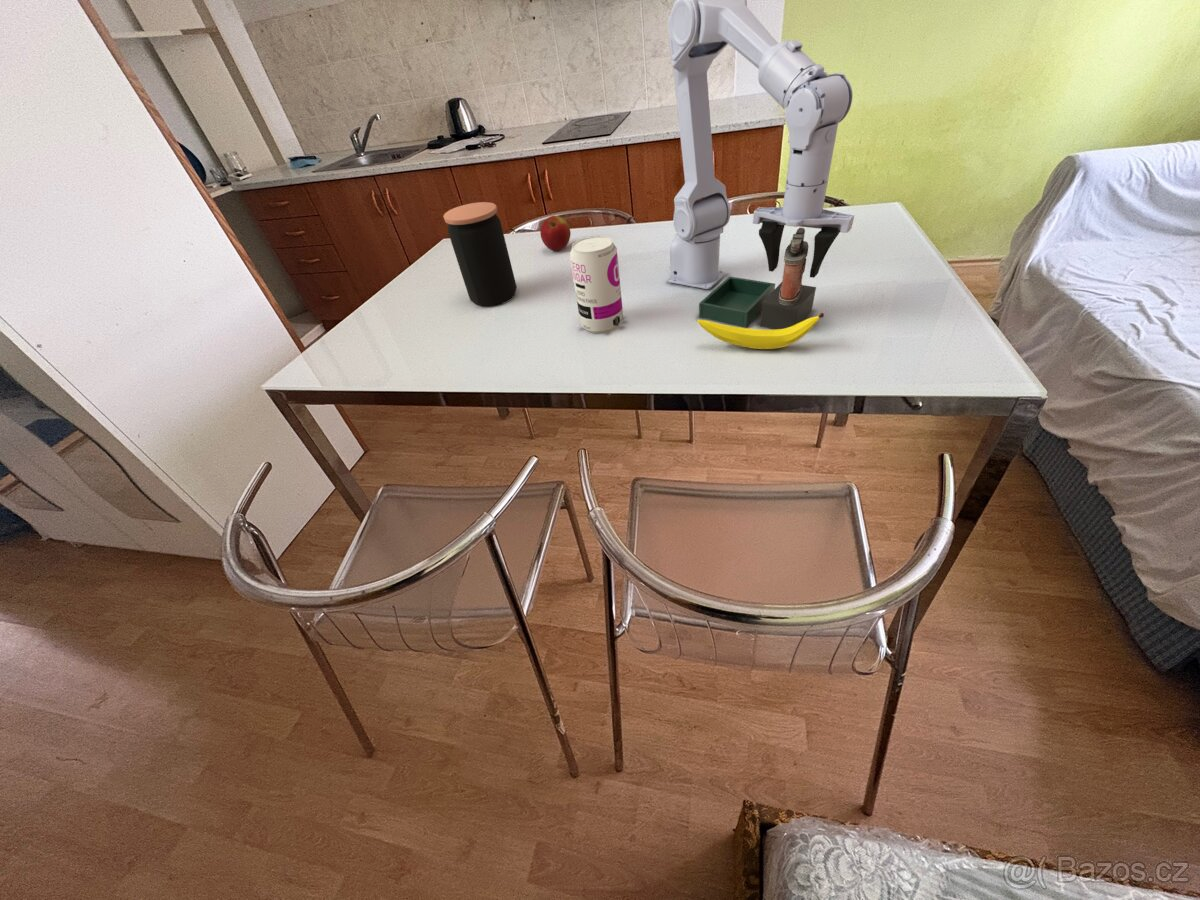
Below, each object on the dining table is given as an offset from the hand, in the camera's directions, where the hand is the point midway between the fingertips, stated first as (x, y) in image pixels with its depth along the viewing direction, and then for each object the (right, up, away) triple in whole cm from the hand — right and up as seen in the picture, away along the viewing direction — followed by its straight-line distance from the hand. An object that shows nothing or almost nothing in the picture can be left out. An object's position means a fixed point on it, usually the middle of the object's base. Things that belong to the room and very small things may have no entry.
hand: (793, 272), depth 80 cm
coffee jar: (-55, +4, +28) cm, 62 cm away
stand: (+1, -6, +6) cm, 8 cm away
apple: (-42, +22, +44) cm, 65 cm away
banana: (-6, -13, 0) cm, 14 cm away
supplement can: (-31, -5, +13) cm, 34 cm away
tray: (-6, -3, +11) cm, 13 cm away
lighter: (+1, -3, +3) cm, 4 cm away
